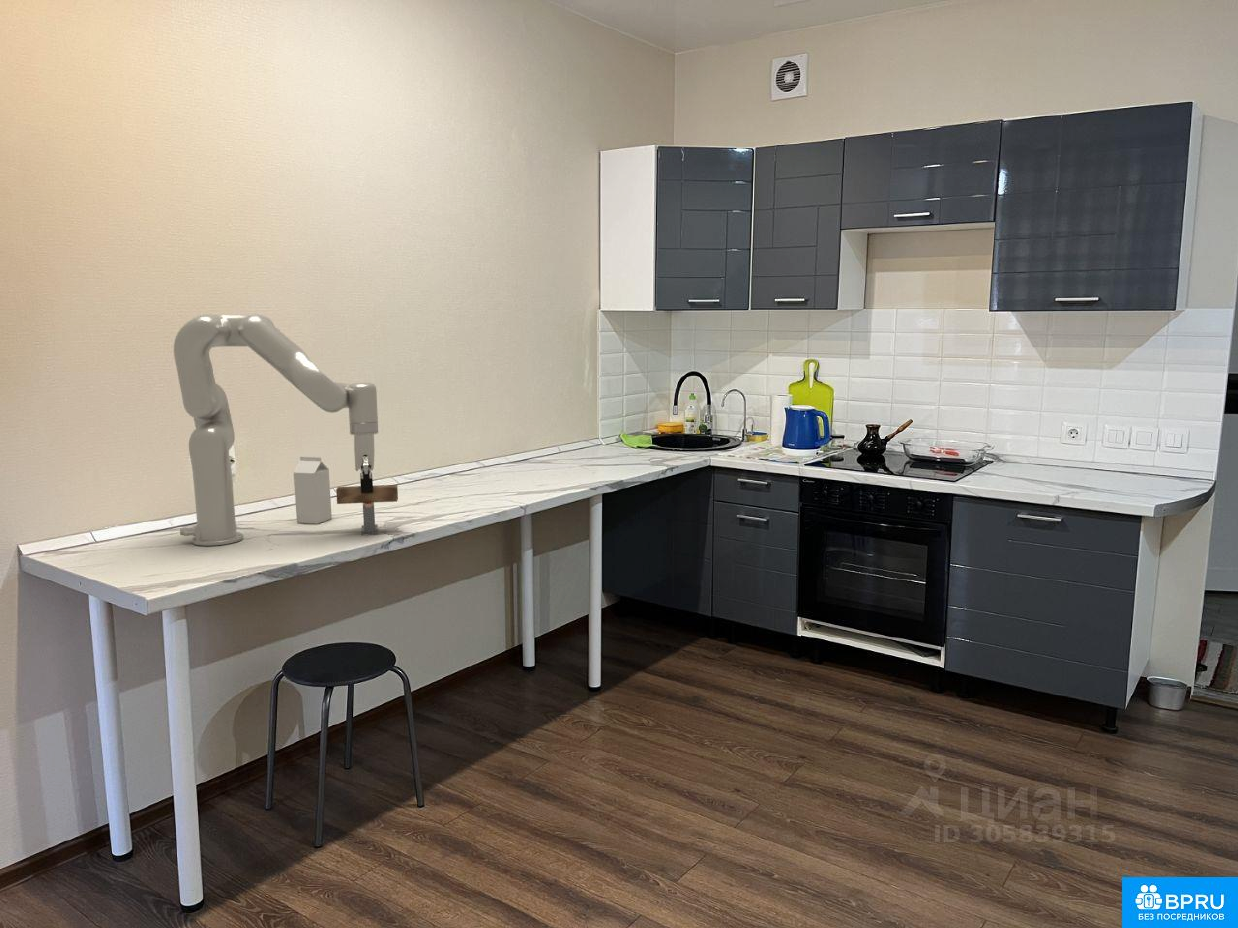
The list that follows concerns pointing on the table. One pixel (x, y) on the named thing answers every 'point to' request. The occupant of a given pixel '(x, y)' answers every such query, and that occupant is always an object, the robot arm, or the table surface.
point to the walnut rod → (367, 494)
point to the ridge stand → (369, 519)
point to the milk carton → (312, 491)
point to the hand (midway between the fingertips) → (366, 489)
